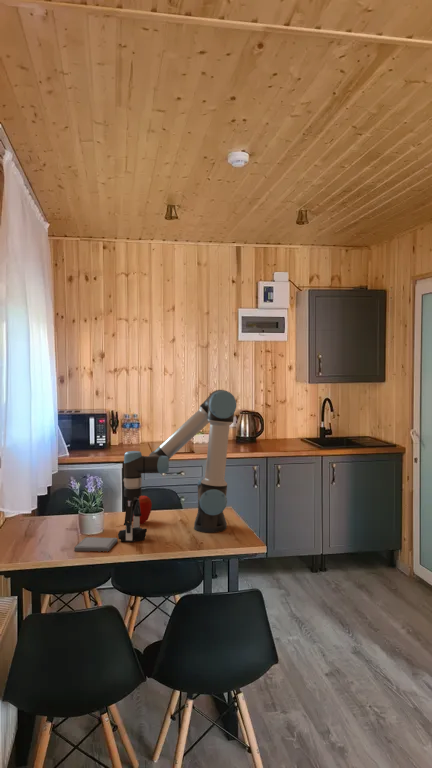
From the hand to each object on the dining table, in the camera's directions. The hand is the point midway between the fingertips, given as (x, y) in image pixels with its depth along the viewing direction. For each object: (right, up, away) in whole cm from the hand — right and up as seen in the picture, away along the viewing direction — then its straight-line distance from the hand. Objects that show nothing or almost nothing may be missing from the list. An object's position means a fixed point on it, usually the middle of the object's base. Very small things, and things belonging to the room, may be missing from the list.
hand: (132, 535), depth 244 cm
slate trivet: (-14, -2, -10) cm, 17 cm away
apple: (-1, -1, +25) cm, 25 cm away
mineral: (0, -2, -1) cm, 2 cm away
